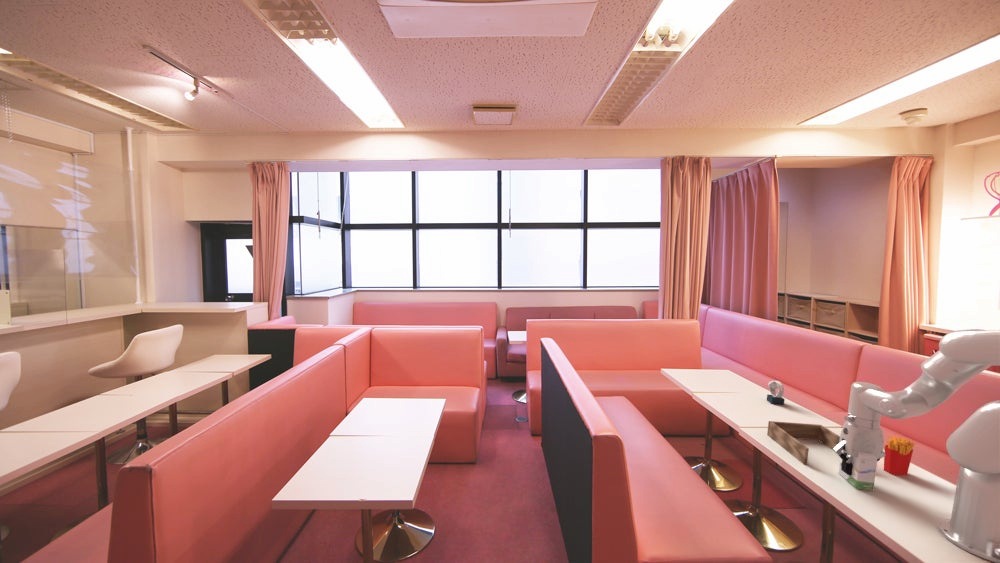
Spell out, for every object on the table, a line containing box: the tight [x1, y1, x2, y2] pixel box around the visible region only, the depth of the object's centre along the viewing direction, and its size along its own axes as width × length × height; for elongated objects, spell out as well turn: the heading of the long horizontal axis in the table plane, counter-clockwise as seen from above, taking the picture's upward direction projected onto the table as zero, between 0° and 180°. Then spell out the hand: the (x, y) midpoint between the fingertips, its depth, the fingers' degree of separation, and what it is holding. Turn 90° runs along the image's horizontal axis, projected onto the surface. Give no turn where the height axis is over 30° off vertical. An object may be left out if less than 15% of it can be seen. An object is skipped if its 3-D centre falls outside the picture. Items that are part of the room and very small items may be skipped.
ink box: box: [837, 450, 878, 492], centre depth 117 cm, size 8×5×12 cm, turn 167°
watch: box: [766, 380, 786, 406], centre depth 179 cm, size 6×8×11 cm
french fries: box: [883, 436, 915, 476], centre depth 124 cm, size 8×4×12 cm, turn 92°
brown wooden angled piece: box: [766, 420, 840, 465], centre depth 136 cm, size 20×20×6 cm
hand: (856, 473), depth 118 cm, fingers closed on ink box, 5 cm apart
